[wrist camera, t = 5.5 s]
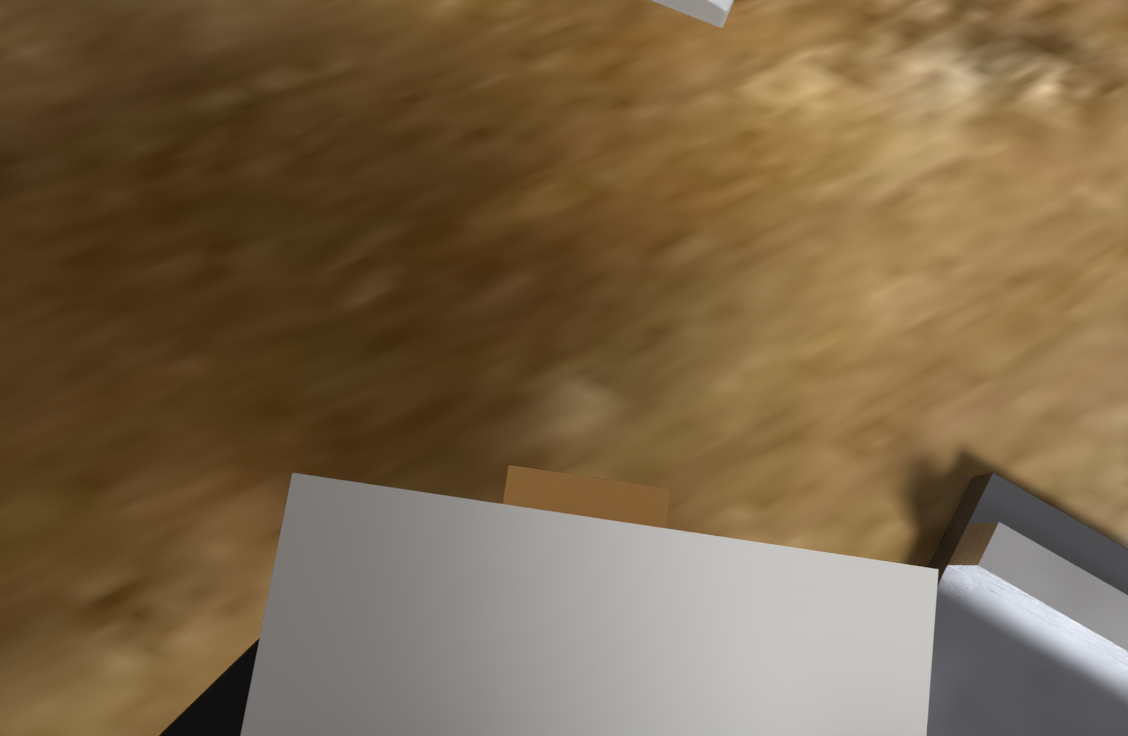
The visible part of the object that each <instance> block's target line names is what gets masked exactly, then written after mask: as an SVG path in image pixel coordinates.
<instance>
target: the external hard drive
mask: <svg viewBox="0 0 1128 736" xmlns="http://www.w3.org/2000/svg"><path fill="white" fill-rule="evenodd" d="M652 1H654V2H657V3H659V4H662V5H664V6H667V7H669V8H672V9H674V10H677V11H679V12H682V13H684V14H687V15H689V16H692V17H695V18H697V19H700V20H702V21H705V22H707V23H710V24H712V25H715V26H717V27H723V25H724V23H725V20H726V18H727V16H728V13H729V11H730V9H731V6H732V4H733V2H734V0H652Z"/></svg>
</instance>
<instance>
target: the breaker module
mask: <svg viewBox="0 0 1128 736" xmlns="http://www.w3.org/2000/svg"><path fill="white" fill-rule="evenodd" d="M670 494H671V489H666V488H660V487H653V486H646V485H640V484H633V483H626V482H620V481H613V480H606V479H600V478H593V477H586V476H580V475H573V474H566V473H560V472H553V471H546V470H540V469H533V468H526V467H520V466H513V465H509V466H508V473H507V479H506V485H505V492H504V498H503V504H499V503H492V502H485V501H479V500H472V499H465V498H458V497H452V496H445V495H438V494H432V493H425V492H418V491H412V490H405V489H398V488H392V487H385V486H378V485H371V484H365V483H358V482H351V481H345V480H338V479H331V478H325V477H318V476H311V475H305V474H298V473H292V477H291V482H290V487H289V492H288V497H287V502H286V507H285V513H284V518H283V523H282V528H281V533H280V538H279V543H278V548H277V553H276V558H275V563H274V568H273V573H272V578H271V583H270V589H269V594H268V599H267V604H266V609H265V614H264V619H263V624H262V629H261V634H260V639H259V644H258V649H257V654H256V659H255V664H254V670H253V675H252V680H251V685H250V690H249V695H248V700H247V705H246V710H245V715H244V720H243V725H242V730H241V735H240V736H926V734H927V720H928V707H929V693H930V679H931V666H932V652H933V638H934V624H935V611H936V597H937V583H938V570H939V569H933V568H927V567H920V566H913V565H907V564H900V563H893V562H887V561H880V560H873V559H867V558H860V557H853V556H846V555H840V554H833V553H826V552H820V551H813V550H806V549H800V548H793V547H786V546H780V545H773V544H766V543H760V542H753V541H746V540H739V539H733V538H726V537H719V536H713V535H706V534H699V533H693V532H686V531H679V530H673V529H666V526H667V518H668V510H669V502H670Z"/></svg>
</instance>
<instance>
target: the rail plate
mask: <svg viewBox="0 0 1128 736" xmlns="http://www.w3.org/2000/svg"><path fill="white" fill-rule="evenodd" d="M929 568H933V569H939V570H938V583H937V597H936V611H935V624H934V638H933V652H932V666H931V679H930V693H929V707H928V720H927V734H926V736H1128V549H1126V548H1125V547H1123V546H1121V545H1119V544H1118V543H1116V542H1114V541H1112V540H1110V539H1109V538H1107V537H1105V536H1103V535H1102V534H1100V533H1098V532H1096V531H1095V530H1093V529H1091V528H1089V527H1088V526H1086V525H1084V524H1082V523H1081V522H1079V521H1077V520H1075V519H1074V518H1072V517H1070V516H1068V515H1067V514H1065V513H1063V512H1061V511H1059V510H1058V509H1056V508H1054V507H1052V506H1051V505H1049V504H1047V503H1045V502H1044V501H1042V500H1040V499H1038V498H1037V497H1035V496H1033V495H1031V494H1030V493H1028V492H1026V491H1024V490H1023V489H1021V488H1019V487H1017V486H1016V485H1014V484H1012V483H1010V482H1008V481H1007V480H1005V479H1003V478H1001V477H1000V476H998V475H996V474H994V473H990V474H985V475H979V476H974V477H973V479H972V481H971V483H970V485H969V487H968V489H967V491H966V493H965V495H964V497H963V499H962V501H961V503H960V505H959V507H958V509H957V511H956V513H955V515H954V517H953V519H952V521H951V523H950V525H949V527H948V529H947V531H946V533H945V535H944V537H943V539H942V541H941V543H940V545H939V547H938V549H937V551H936V553H935V555H934V557H933V559H932V561H931V563H930V565H929Z"/></svg>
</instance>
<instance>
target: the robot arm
mask: <svg viewBox="0 0 1128 736" xmlns="http://www.w3.org/2000/svg"><path fill="white" fill-rule="evenodd" d="M259 639H260V638H259ZM259 639H258V640H257V641H256V642H255V643H254V644H253V645H252V646H251V647H250V648H249V649H248V650H247V651H246V652H245V653H244V654H243V655H242V656H240V657H239V658H238V659H237V660H236V661H235V662H234V663H233V664H232V665H231V666H230V667H229V668H228V669H227V670H226V671H225V672H224V673H223V674H222V675H221V676H220V677H219V678H218V679H217V680H216V681H215V682H214V683H213V684H212V685H211V686H210V687H209V688H208V689H206V690H205V691H204V692H203V693H202V694H201V695H200V696H199V697H198V698H197V699H196V700H195V701H194V702H193V703H192V704H191V705H190V706H189V707H188V708H187V709H186V710H185V711H184V712H183V713H182V714H181V715H180V716H179V717H178V718H177V719H176V720H175V721H174V722H172V723H171V724H170V725H169V726H168V727H167V728H166V729H165V730H164V731H163V732H162V733H161V734H160V735H159V736H240V735H241V730H242V725H243V720H244V715H245V710H246V705H247V700H248V695H249V690H250V685H251V680H252V675H253V670H254V664H255V659H256V654H257V649H258V644H259Z"/></svg>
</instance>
